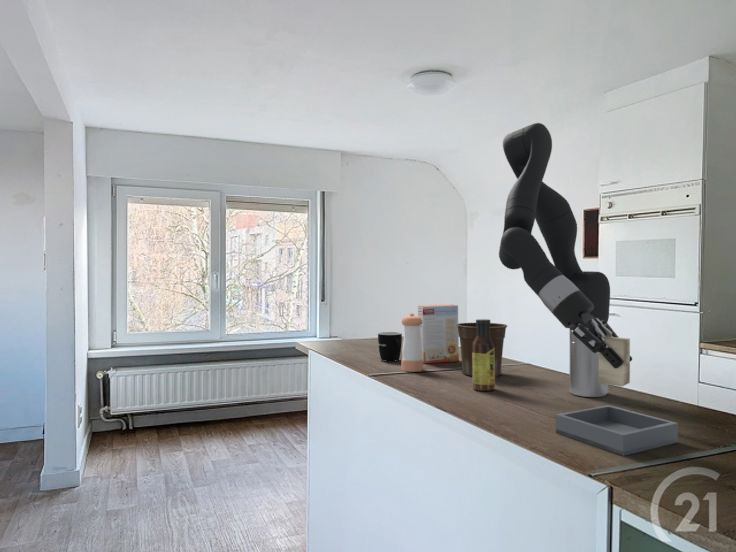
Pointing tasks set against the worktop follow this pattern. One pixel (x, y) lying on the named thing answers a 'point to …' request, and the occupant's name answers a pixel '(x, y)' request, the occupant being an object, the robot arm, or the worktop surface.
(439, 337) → the cracker box
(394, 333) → the mug
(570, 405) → the worktop surface
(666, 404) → the worktop surface
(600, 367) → the maple block
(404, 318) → the pepper shaker
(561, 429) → the box
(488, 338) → the sauce bottle
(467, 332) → the plant pot
